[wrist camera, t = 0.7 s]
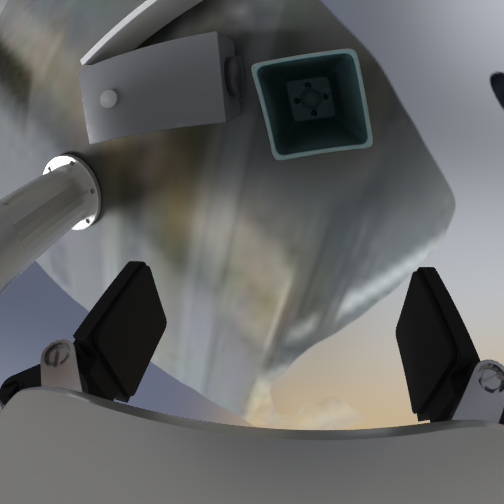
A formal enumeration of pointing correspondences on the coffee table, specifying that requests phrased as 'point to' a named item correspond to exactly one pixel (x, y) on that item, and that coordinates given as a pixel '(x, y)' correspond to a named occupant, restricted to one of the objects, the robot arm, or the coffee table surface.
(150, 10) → the side door
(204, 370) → the coffee table surface
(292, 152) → the flower pot
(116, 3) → the coffee table surface
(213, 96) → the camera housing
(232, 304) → the coffee table surface
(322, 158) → the coffee table surface
